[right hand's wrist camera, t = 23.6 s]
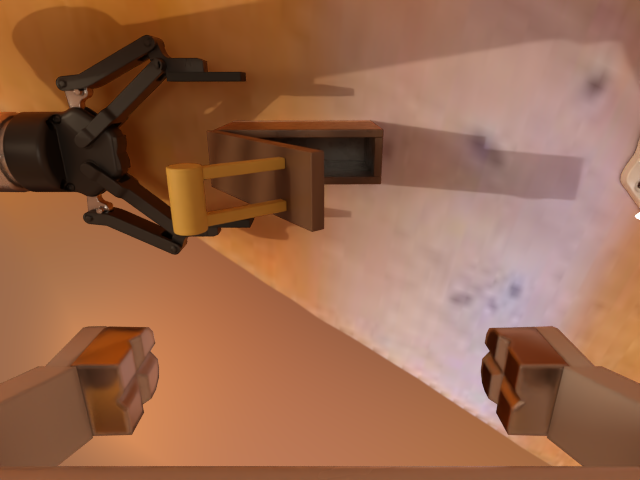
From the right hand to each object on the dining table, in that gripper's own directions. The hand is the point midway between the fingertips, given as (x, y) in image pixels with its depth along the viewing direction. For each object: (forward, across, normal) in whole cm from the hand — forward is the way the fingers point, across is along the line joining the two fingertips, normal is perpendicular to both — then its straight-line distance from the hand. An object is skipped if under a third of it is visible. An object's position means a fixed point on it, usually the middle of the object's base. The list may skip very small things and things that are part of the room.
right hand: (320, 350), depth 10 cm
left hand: (+32, +7, 0) cm, 33 cm away
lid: (+23, +4, 0) cm, 23 cm away
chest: (+39, +2, 0) cm, 39 cm away
